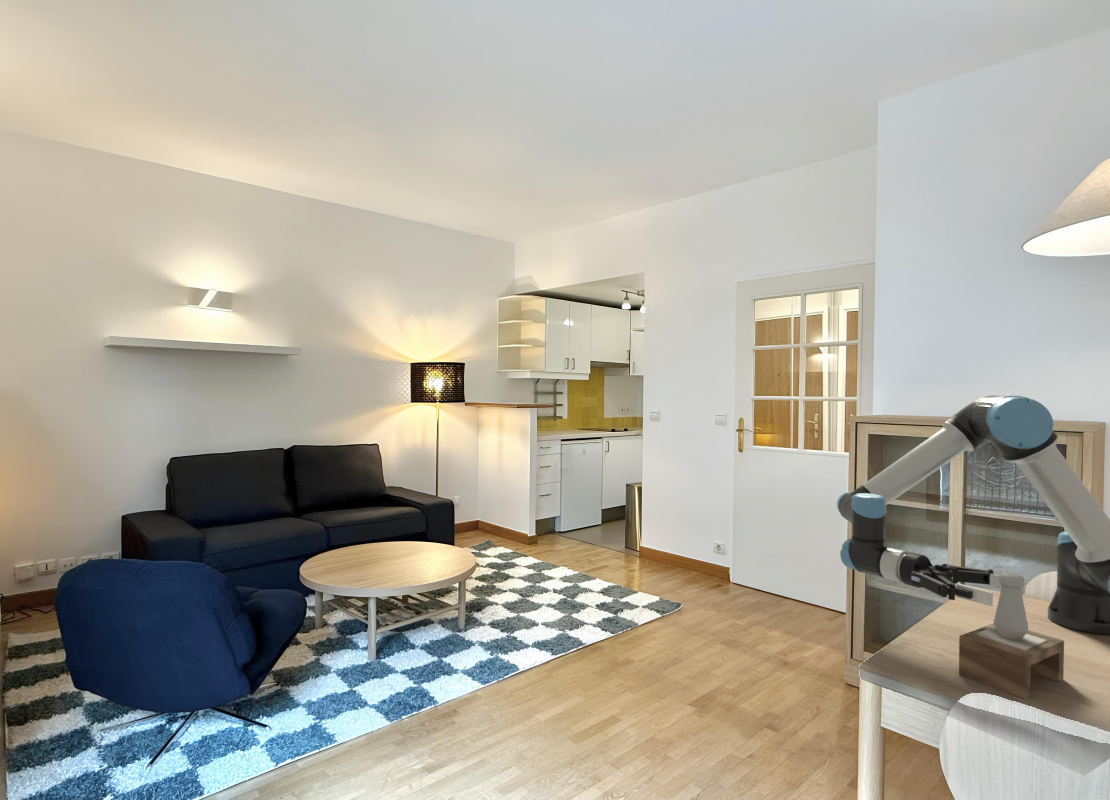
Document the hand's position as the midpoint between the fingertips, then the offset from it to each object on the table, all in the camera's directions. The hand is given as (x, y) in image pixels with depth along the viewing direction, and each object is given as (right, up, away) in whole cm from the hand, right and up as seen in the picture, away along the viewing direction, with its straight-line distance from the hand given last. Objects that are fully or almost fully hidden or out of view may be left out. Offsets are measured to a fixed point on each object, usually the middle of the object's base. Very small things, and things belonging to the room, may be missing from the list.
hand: (1008, 593), depth 130 cm
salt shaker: (0, -9, 0) cm, 9 cm away
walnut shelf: (0, -17, 0) cm, 17 cm away
